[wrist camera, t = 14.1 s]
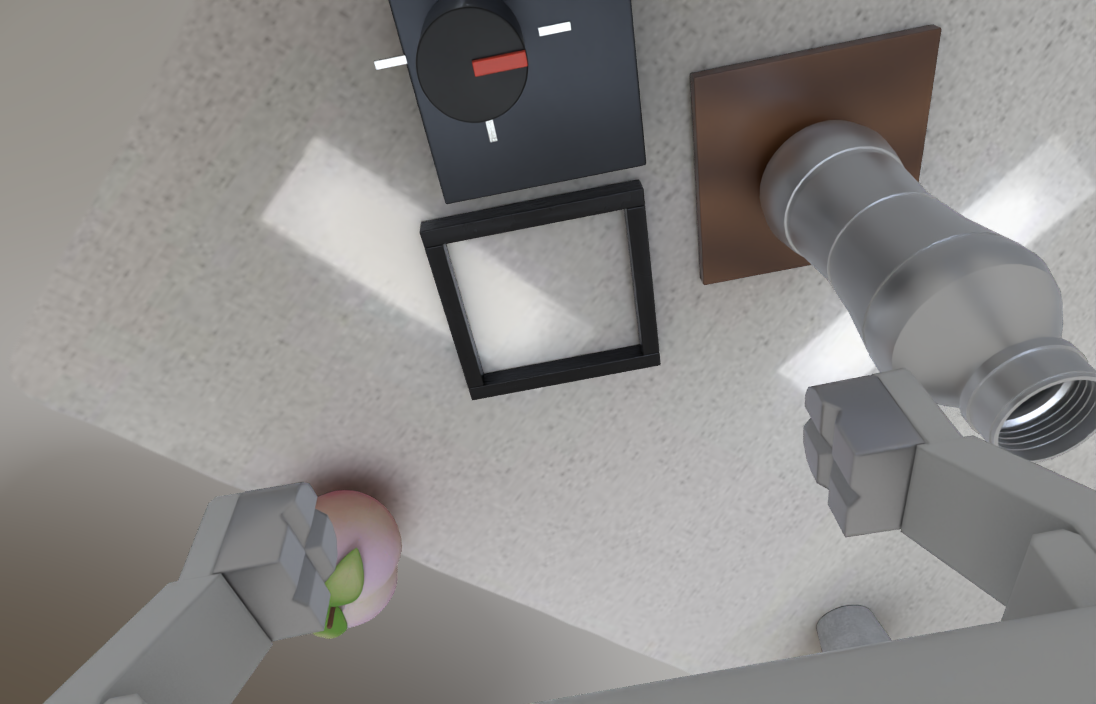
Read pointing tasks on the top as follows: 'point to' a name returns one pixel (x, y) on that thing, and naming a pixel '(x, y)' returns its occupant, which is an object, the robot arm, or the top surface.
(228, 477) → the top surface
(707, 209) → the trivet
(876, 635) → the house plant
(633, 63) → the panel
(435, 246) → the black flat square frame
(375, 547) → the decorative fruit
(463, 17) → the knob
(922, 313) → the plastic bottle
